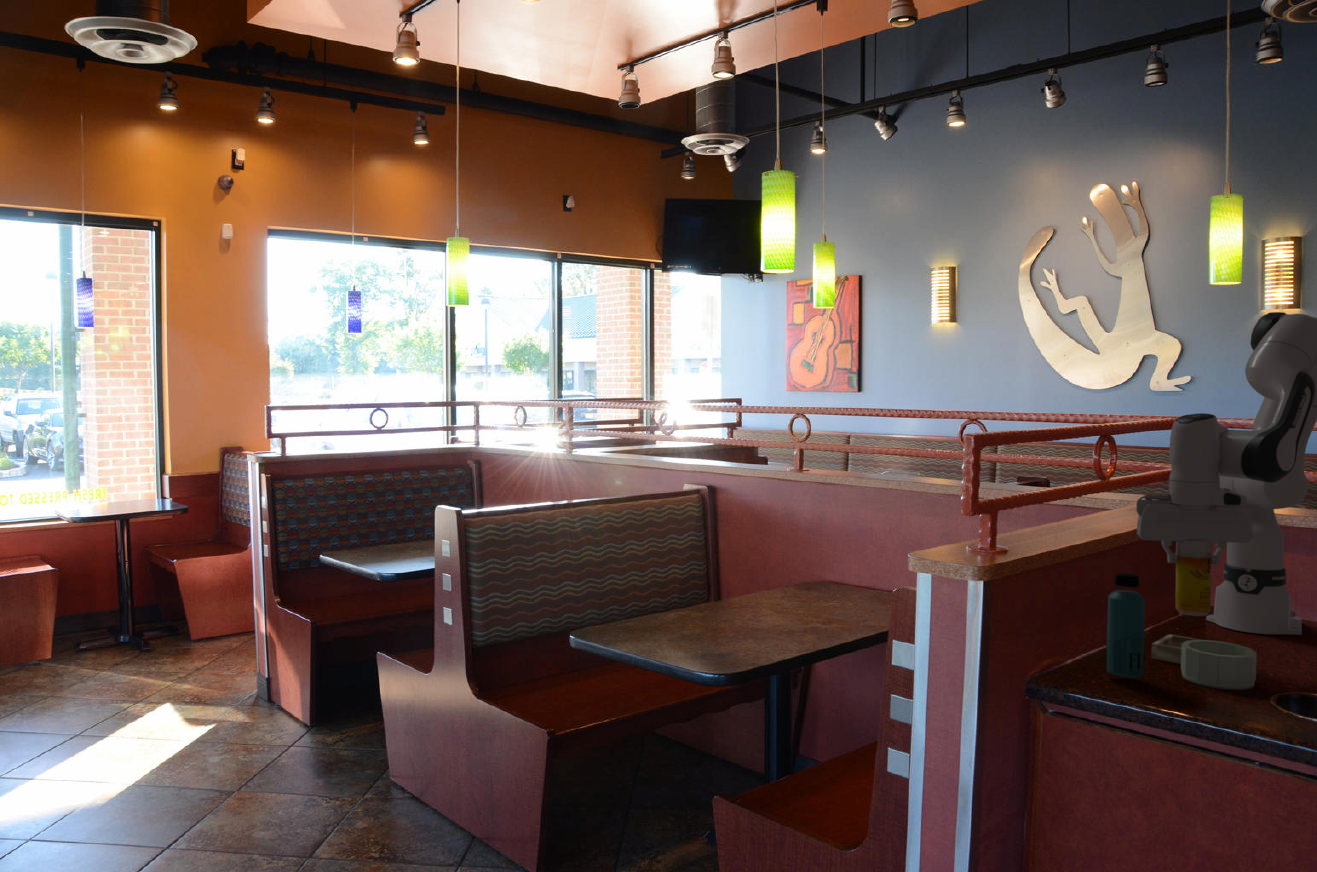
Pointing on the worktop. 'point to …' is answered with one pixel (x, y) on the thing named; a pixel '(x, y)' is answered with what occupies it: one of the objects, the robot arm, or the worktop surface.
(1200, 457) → the robot arm
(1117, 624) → the beverage bottle
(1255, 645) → the worktop surface
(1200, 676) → the cup
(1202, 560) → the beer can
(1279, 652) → the worktop surface
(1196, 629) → the worktop surface
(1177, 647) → the square beige tray
